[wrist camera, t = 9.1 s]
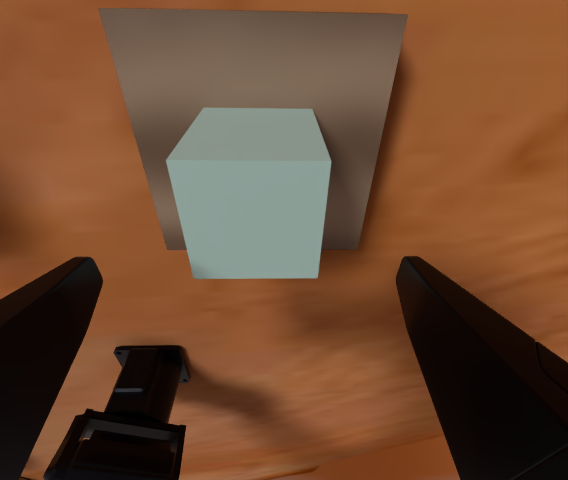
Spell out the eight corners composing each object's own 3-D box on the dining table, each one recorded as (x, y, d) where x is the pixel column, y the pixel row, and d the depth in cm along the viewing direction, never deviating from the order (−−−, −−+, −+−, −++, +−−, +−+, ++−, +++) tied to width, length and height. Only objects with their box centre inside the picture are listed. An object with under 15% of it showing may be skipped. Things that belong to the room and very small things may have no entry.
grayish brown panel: (348, 222, 22) (357, 249, 19) (179, 222, 21) (167, 249, 19) (385, 13, 14) (407, 14, 12) (128, 8, 14) (98, 8, 12)
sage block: (305, 202, 17) (317, 278, 12) (216, 202, 17) (193, 278, 12) (312, 108, 14) (331, 161, 9) (203, 107, 14) (165, 160, 9)
